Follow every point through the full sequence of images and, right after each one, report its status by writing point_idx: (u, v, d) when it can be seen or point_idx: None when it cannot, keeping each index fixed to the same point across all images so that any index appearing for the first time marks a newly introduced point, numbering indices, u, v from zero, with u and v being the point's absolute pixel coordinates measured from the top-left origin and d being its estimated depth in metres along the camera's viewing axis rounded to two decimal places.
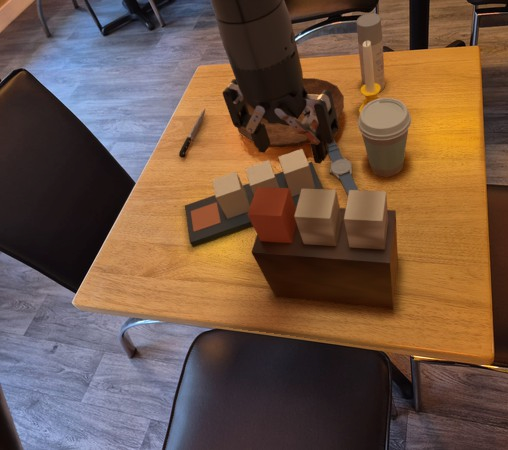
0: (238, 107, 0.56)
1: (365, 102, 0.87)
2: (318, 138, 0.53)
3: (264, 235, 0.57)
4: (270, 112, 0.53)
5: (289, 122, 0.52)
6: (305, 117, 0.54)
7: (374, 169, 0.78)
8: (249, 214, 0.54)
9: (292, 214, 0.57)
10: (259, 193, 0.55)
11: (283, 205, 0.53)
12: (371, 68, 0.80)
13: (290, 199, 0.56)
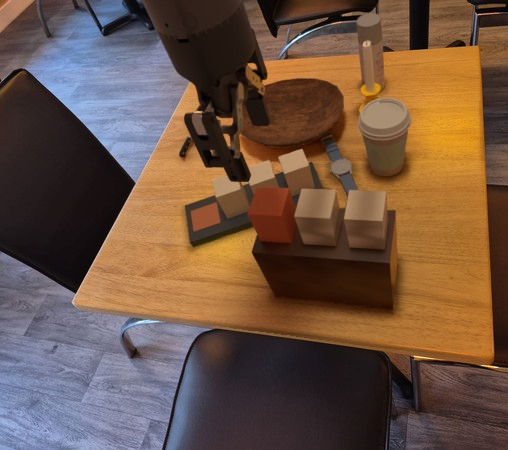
0: None
1: (365, 102, 0.87)
2: None
3: (264, 235, 0.57)
4: None
5: None
6: None
7: (374, 169, 0.78)
8: (249, 214, 0.54)
9: (292, 214, 0.57)
10: (259, 193, 0.55)
11: (283, 205, 0.53)
12: (371, 68, 0.80)
13: (290, 199, 0.56)
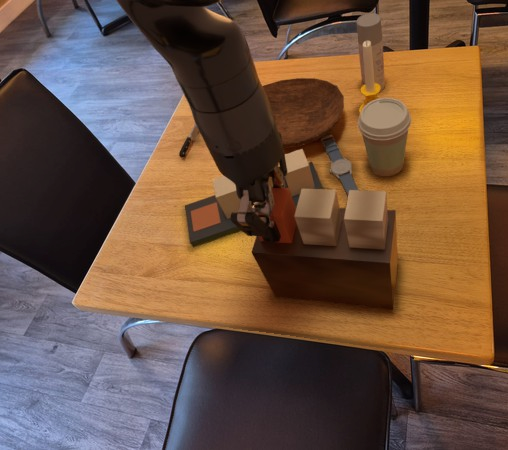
0: None
1: (365, 102, 0.87)
2: None
3: None
4: None
5: None
6: (265, 203, 0.51)
7: (374, 169, 0.78)
8: None
9: (292, 214, 0.57)
10: None
11: (283, 205, 0.53)
12: (371, 68, 0.80)
13: (290, 199, 0.56)
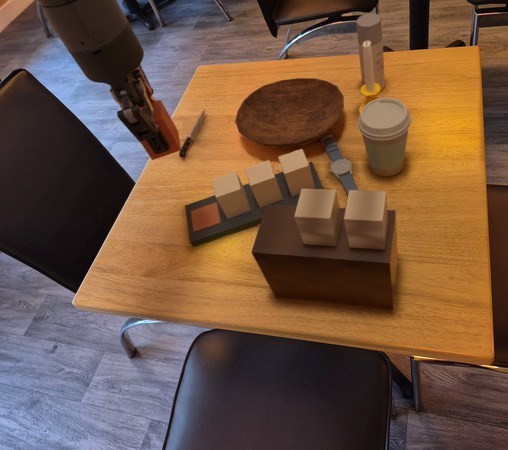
0: None
1: (365, 102, 0.87)
2: None
3: None
4: None
5: (121, 106, 0.55)
6: (144, 109, 0.57)
7: (374, 169, 0.78)
8: None
9: (171, 125, 0.62)
10: None
11: (161, 111, 0.59)
12: (371, 68, 0.80)
13: (165, 110, 0.61)
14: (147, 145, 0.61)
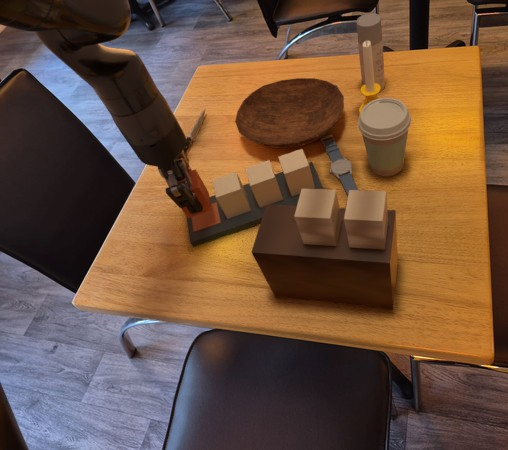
0: None
1: (365, 102, 0.87)
2: None
3: None
4: None
5: (166, 180, 0.67)
6: (184, 181, 0.69)
7: (374, 169, 0.78)
8: None
9: (204, 189, 0.74)
10: None
11: (197, 180, 0.71)
12: (371, 68, 0.80)
13: (199, 177, 0.73)
14: (184, 207, 0.73)
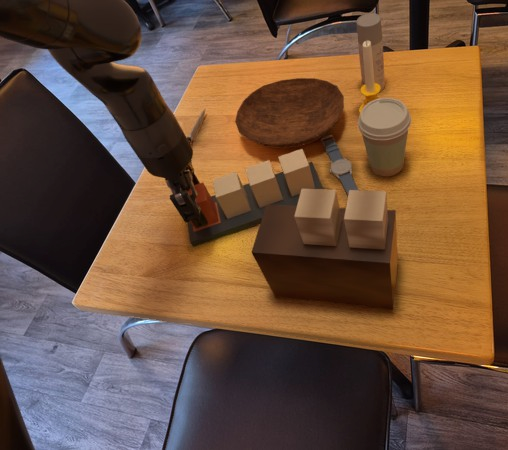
0: None
1: (365, 102, 0.87)
2: None
3: None
4: None
5: None
6: (190, 194, 0.69)
7: (374, 169, 0.78)
8: None
9: (211, 201, 0.77)
10: None
11: (204, 193, 0.73)
12: (371, 68, 0.80)
13: (206, 190, 0.76)
14: None
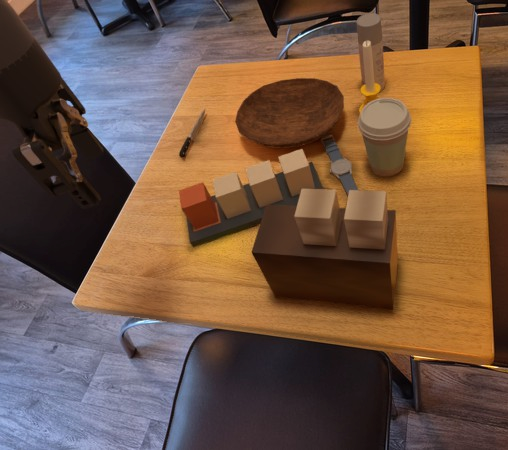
0: None
1: (365, 102, 0.87)
2: None
3: (197, 222, 0.76)
4: None
5: None
6: None
7: (374, 169, 0.78)
8: (182, 208, 0.73)
9: (211, 201, 0.77)
10: (183, 193, 0.75)
11: (204, 193, 0.73)
12: (371, 68, 0.80)
13: (206, 190, 0.76)
14: (192, 219, 0.75)
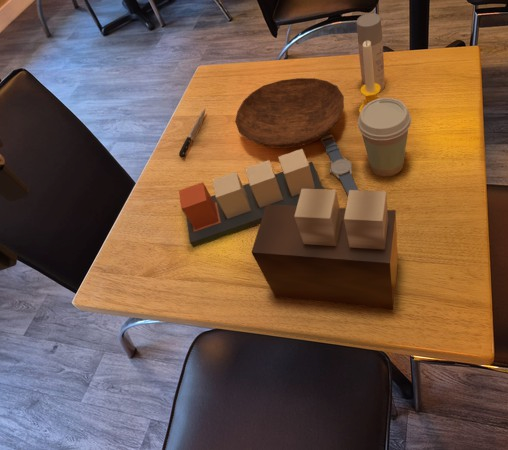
0: None
1: (365, 102, 0.87)
2: None
3: (197, 222, 0.76)
4: None
5: None
6: None
7: (374, 169, 0.78)
8: (182, 208, 0.73)
9: (211, 201, 0.77)
10: (183, 193, 0.75)
11: (204, 193, 0.73)
12: (371, 68, 0.80)
13: (206, 190, 0.76)
14: (192, 219, 0.75)
